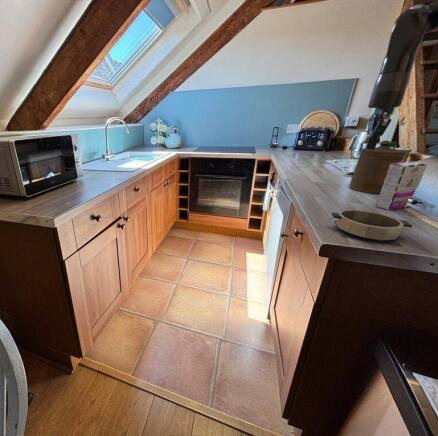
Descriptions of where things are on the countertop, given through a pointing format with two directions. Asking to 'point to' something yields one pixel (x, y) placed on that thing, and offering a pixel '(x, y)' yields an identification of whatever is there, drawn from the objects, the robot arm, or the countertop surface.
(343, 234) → the mat
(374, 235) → the pan
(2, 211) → the countertop surface
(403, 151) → the wooden container
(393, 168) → the candy bar box
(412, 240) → the countertop surface
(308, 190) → the countertop surface
